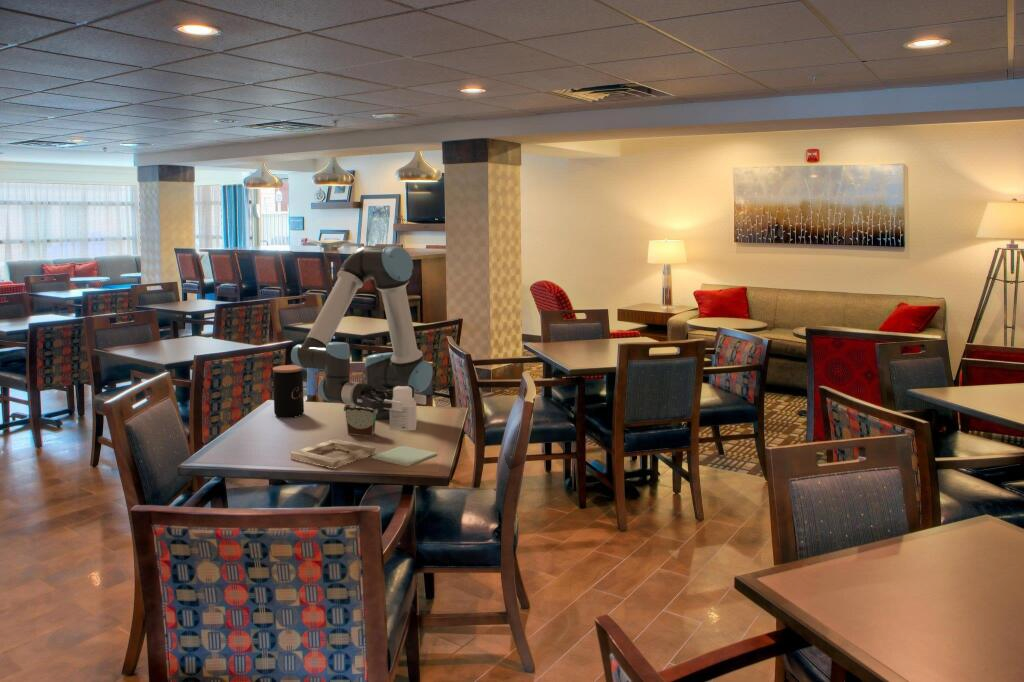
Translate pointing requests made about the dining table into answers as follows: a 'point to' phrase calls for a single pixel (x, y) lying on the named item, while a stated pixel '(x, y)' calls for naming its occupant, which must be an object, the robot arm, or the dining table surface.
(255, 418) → the dining table surface
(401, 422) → the container
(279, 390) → the coffee jar
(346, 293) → the robot arm
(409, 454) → the pad
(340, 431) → the dining table surface
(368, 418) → the food container
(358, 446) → the square picture frame
